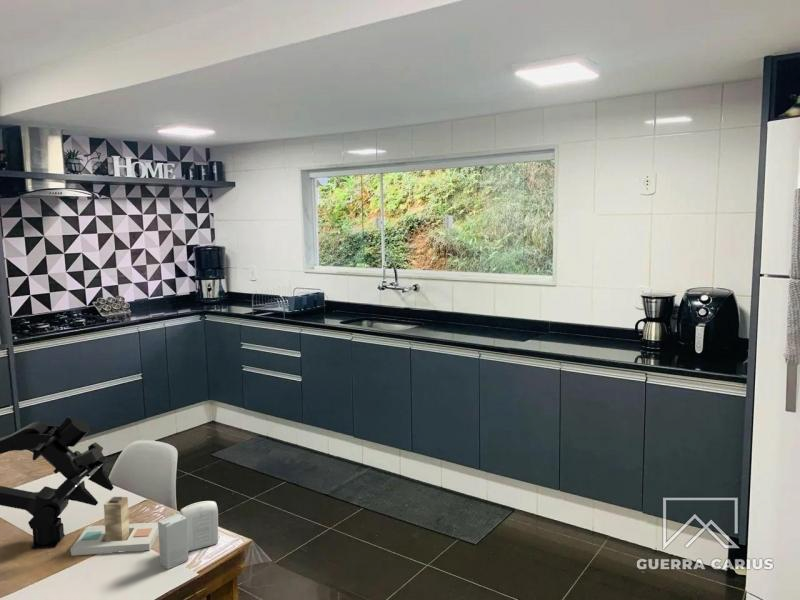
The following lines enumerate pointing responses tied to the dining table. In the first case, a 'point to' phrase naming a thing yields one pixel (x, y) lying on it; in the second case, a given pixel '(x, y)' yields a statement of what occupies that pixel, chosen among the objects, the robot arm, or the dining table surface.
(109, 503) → the plug
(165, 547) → the skincare box
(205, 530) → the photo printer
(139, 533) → the panel
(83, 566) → the dining table surface
